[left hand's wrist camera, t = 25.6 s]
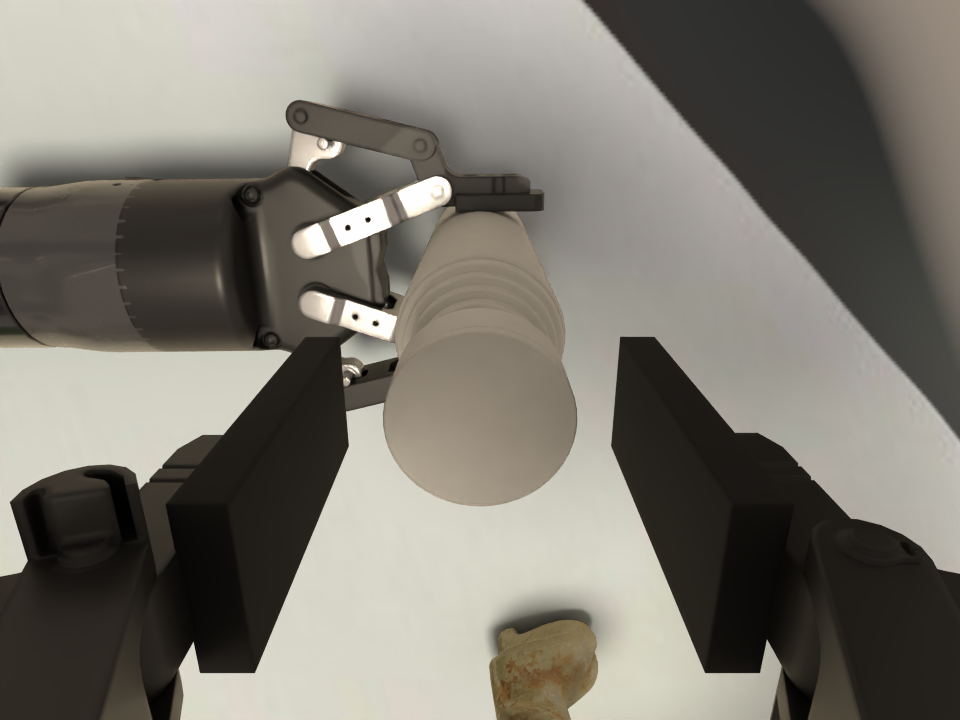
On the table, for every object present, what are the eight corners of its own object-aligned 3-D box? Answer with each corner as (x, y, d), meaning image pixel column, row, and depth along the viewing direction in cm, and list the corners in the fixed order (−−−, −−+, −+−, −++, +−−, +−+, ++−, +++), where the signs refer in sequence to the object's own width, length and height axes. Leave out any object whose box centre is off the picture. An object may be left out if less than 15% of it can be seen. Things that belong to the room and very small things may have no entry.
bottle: (543, 234, 33) (640, 393, 13) (485, 301, 35) (494, 540, 15) (473, 173, 32) (463, 248, 12) (416, 246, 34) (322, 421, 14)
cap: (602, 386, 14) (618, 419, 13) (483, 494, 15) (484, 538, 14) (475, 269, 13) (475, 289, 12) (358, 393, 14) (343, 427, 13)
